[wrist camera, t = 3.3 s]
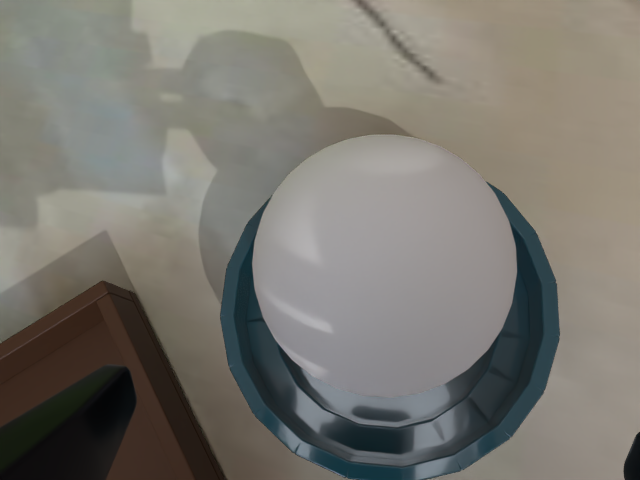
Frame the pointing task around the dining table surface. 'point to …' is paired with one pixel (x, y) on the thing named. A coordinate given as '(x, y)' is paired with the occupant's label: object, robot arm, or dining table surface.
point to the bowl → (402, 411)
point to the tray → (89, 355)
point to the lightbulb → (384, 265)
